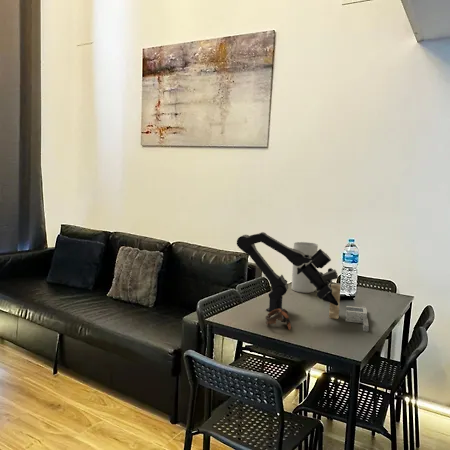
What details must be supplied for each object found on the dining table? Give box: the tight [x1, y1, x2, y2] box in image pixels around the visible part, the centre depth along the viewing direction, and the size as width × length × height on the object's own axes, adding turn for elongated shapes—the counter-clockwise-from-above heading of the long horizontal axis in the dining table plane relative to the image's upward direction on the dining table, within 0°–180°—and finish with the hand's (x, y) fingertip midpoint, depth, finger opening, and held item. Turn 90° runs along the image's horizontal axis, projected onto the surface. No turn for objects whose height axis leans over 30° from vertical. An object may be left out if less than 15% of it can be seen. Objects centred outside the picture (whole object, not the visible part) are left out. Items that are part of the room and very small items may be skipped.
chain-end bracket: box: [345, 305, 370, 333], centre depth 188 cm, size 9×28×4 cm, turn 165°
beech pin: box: [328, 283, 341, 320], centre depth 190 cm, size 4×4×14 cm
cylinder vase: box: [291, 241, 319, 294], centre depth 234 cm, size 12×12×25 cm
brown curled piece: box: [265, 308, 292, 331], centre depth 177 cm, size 12×10×8 cm
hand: (337, 302), depth 190 cm, fingers open, 8 cm apart
